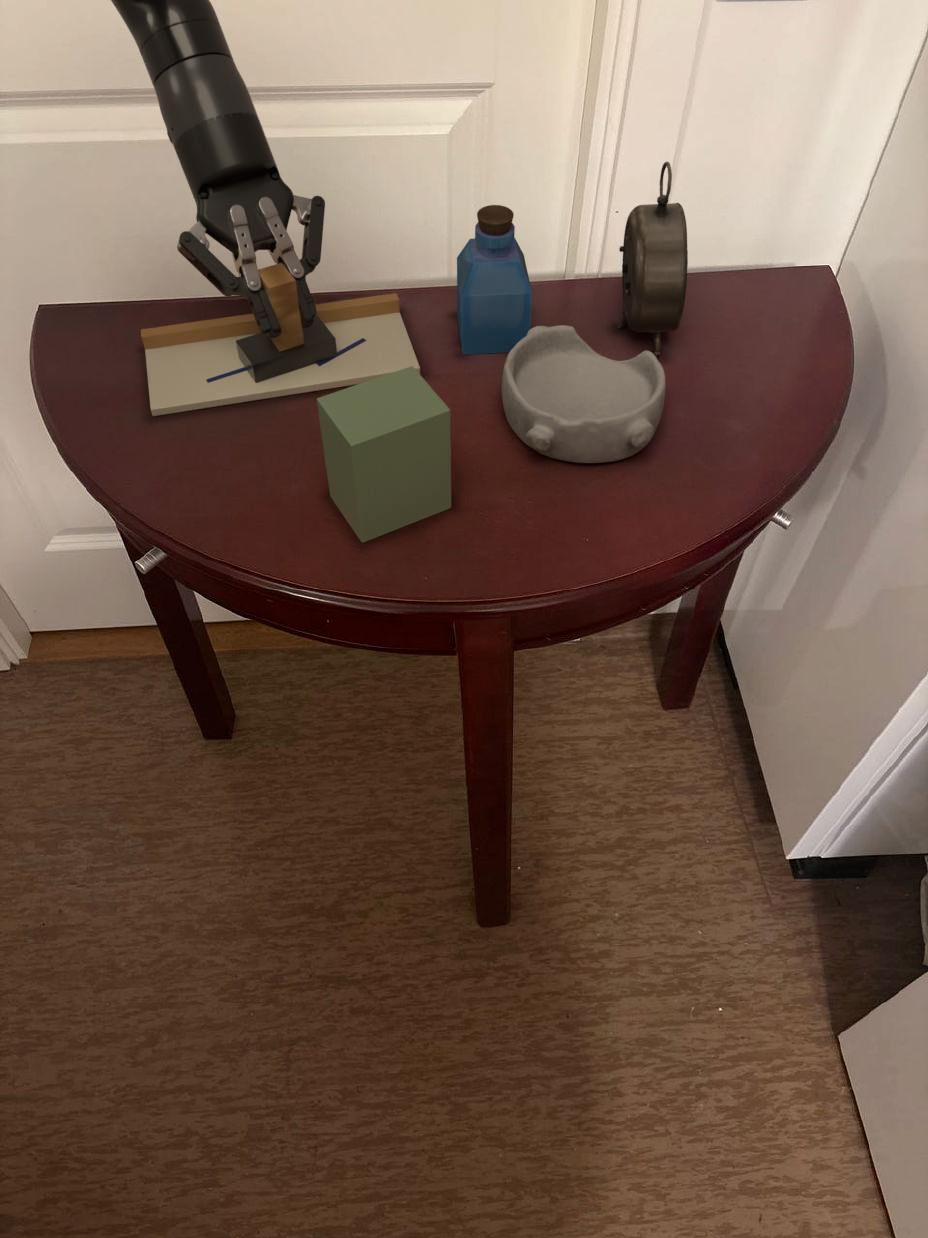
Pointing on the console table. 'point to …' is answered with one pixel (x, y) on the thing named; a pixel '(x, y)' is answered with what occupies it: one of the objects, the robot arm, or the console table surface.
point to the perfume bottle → (492, 286)
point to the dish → (580, 397)
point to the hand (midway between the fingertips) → (292, 329)
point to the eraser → (284, 333)
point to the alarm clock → (655, 266)
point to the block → (387, 452)
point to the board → (214, 375)
